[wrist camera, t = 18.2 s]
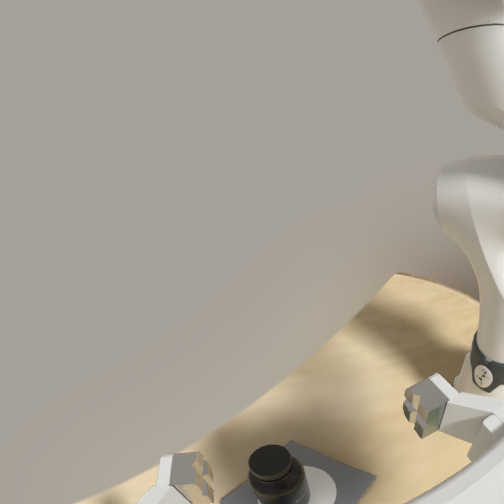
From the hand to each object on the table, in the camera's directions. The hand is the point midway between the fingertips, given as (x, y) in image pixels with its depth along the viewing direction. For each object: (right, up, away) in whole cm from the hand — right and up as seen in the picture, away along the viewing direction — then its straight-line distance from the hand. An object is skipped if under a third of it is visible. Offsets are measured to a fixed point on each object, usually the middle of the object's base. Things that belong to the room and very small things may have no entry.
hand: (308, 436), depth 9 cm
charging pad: (+4, -28, +19) cm, 34 cm away
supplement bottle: (+3, -27, +19) cm, 33 cm away
